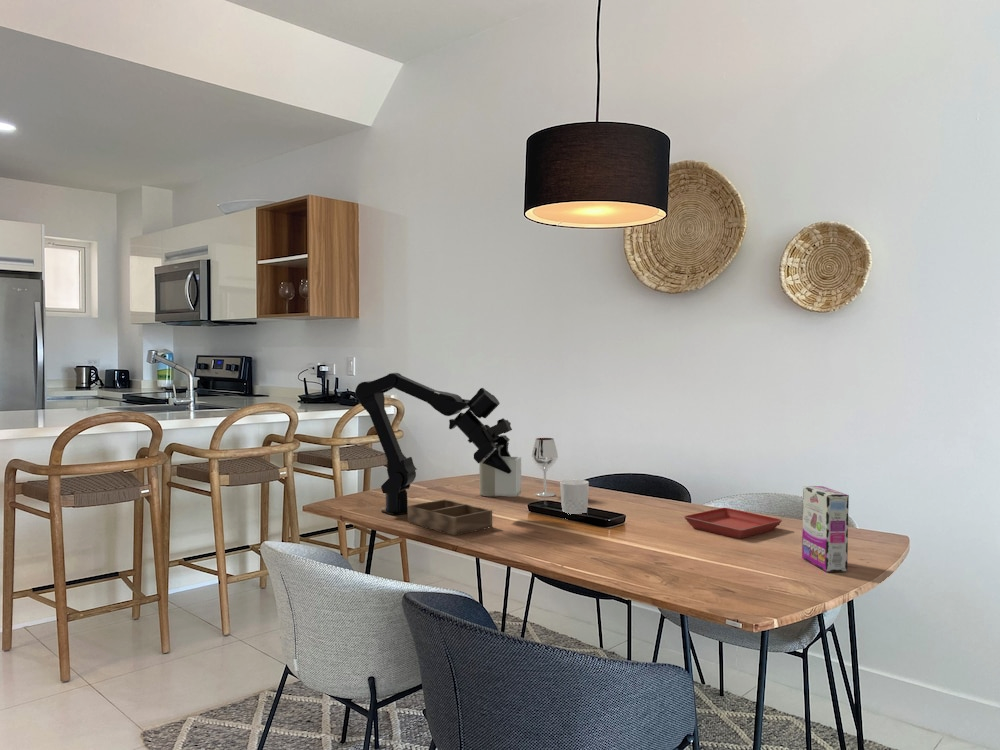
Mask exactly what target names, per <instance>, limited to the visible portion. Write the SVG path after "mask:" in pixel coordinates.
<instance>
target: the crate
mask: <svg viewBox="0 0 1000 750" xmlns="http://www.w3.org/2000/svg"><path fill="white" fill-rule="evenodd" d="M408 522H410V523H409V524H411V523H413V524H412V525H415V524H417V525H416V526H418V525H420V527H422V526H423V527H422V528H425V527H427V528H426V529H429V528H431V529H430V530H432V529H434V530H433V531H436V530H437V532H439V531H441V532H440V533H443V532H444V533H443V534H446V533H448V534H447V535H450V534H451V536H453V535H455V536H459V535H458V534H460V535H462V534H461V533H464V534H467V533H466V532H469V533H472V532H471V531H473V532H476V531H475V530H478V531H480V529H482V530H485V529H484V528H486V529H489V528H488V527H491V528H493V510H492V509H488V508H484V507H480V506H475V505H472V504H468V503H462V502H459V501H456V500H455V501H454V500H449V499H446V498H444V499H438V500H434V501H429V502H423V503H417V504H412V505H411V504H410V505H408V513H407V523H408Z"/></svg>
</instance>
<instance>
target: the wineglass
mask: <svg viewBox="0 0 1000 750" xmlns="http://www.w3.org/2000/svg"><path fill="white" fill-rule="evenodd" d="M531 458H532V461H533V463H534V464H535V465H536V466H537V467H538V468H539V469H540V470H541V471H542V473H543V492H536V493H535V494H534V496H537V497H541V498H546V497H547V498H548V497H550V498H551V497H554V496H556V494H555V492H554V493H553V492H548V491H547V472H548V471H549V470H550V469H551V468H552V467H553V466H554V465H555V464H556V463H557V461H558V450H557V446H556V443H555V439H554V438H552V437H538V438H537V437H536V438H535V441H534V445H533V449H532V453H531Z"/></svg>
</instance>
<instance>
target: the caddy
mask: <svg viewBox="0 0 1000 750" xmlns="http://www.w3.org/2000/svg"><path fill="white" fill-rule="evenodd" d="M502 458H503V459H504V461H505V462H506V463H507V465H508V466H509V468H510V469H511V472H510V473H509V474H508V473H506V472H503V471H501V470H499V469H496V468H495V496H498V497H511V498H512V497H516V498H517V497H518V496H519V495H520V494H521V493H522V456H511V457H505V456H502Z"/></svg>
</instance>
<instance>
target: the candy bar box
mask: <svg viewBox="0 0 1000 750" xmlns="http://www.w3.org/2000/svg"><path fill="white" fill-rule="evenodd" d="M802 492H803V493H802V536H801V537H802V539H801V540H802V541H801V544H802V545H801V546H802V547H801V555H802V556H801V558H802V559H803V560H805V562H808V563H810V564H811V565H813V566H815V567H817V568H819V569H820V570H822V571H824V572H826V573H845V572H848V556H849V555H848V550H849V548H848V547H849V546H848V545H849V544H848V543H849V507H850V506H849V505H850V504H849V503H850V502H849V499H850V498H849V497H850V496H849V494H846V493H843V492H841V491H839V490H838V491H837V490H835V489H833V488H832V489H831V488H829V487H827V486H824V485H823V486H822V485H821V486H820V485H819V486H817V485H816V486H815V485H813V486H812V485H809V486H803V487H802Z"/></svg>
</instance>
